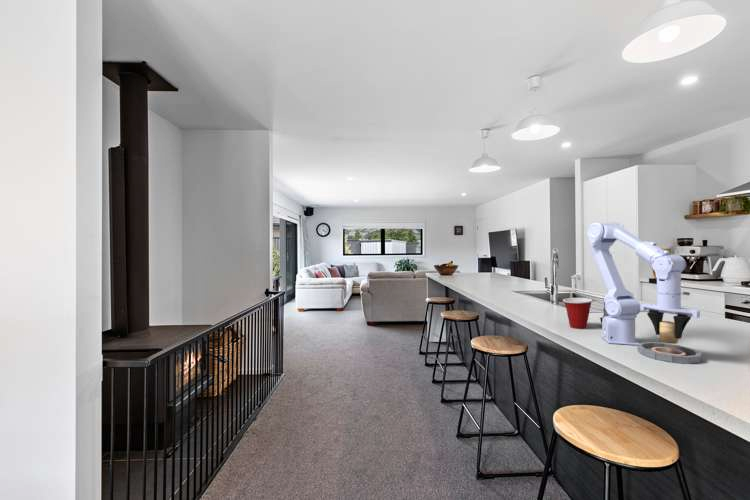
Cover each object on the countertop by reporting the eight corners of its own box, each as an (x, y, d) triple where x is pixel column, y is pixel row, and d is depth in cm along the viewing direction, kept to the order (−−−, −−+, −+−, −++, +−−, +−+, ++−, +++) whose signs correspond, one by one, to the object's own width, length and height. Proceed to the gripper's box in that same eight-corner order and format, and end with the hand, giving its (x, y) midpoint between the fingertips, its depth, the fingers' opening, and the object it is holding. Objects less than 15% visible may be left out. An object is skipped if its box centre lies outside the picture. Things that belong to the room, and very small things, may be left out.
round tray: (650, 360, 102) (650, 354, 102) (630, 346, 116) (630, 340, 116) (713, 366, 98) (713, 359, 98) (684, 350, 112) (684, 344, 112)
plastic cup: (558, 324, 149) (558, 296, 149) (584, 324, 148) (585, 297, 147) (569, 330, 138) (569, 301, 138) (597, 330, 137) (597, 301, 137)
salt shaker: (619, 329, 139) (619, 300, 138) (603, 329, 140) (603, 300, 140) (612, 326, 144) (612, 298, 144) (597, 325, 146) (597, 297, 145)
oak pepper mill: (663, 342, 106) (663, 323, 105) (656, 339, 110) (656, 320, 110) (680, 344, 104) (681, 324, 104) (673, 340, 108) (673, 321, 108)
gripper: (704, 295, 102) (704, 340, 102) (648, 289, 115) (648, 329, 115) (693, 297, 99) (693, 343, 99) (636, 291, 112) (636, 332, 112)
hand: (668, 336), depth 107 cm, fingers closed on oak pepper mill, 4 cm apart
